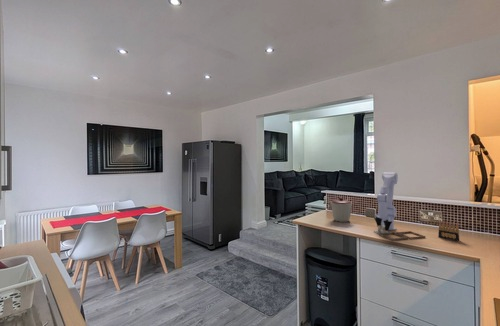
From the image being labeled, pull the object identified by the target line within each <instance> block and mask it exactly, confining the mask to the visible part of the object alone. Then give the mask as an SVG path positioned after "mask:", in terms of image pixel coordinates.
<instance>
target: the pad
mask: <svg viewBox="0 0 500 326" xmlns="http://www.w3.org/2000/svg"><path fill="white" fill-rule="evenodd" d="M373 233H375V234H378V235H379V234H382V233H380V232H378V230H376V231H375V230H374V231H373ZM388 233H392V232H391V231H388Z"/></svg>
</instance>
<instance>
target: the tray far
mask: <svg viewBox="0 0 500 326" xmlns="http://www.w3.org/2000/svg"><path fill="white" fill-rule="evenodd" d="M395 233H396V234H399V235H402V236H405V237H407V238H408V240H417V239H426V235H423V234H421V233H418V232H417V233H416V232H414V231H410V230H407V231H397V232H395ZM405 234H412V235H415V236H408V235H405Z"/></svg>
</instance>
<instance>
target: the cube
mask: <svg viewBox="0 0 500 326" xmlns="http://www.w3.org/2000/svg"><path fill="white" fill-rule="evenodd" d="M377 231H378V232H380V233H388V232H389V230H388V231H386V230H385V226H384V225H379V226H378V227H377Z"/></svg>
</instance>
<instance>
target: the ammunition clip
mask: <svg viewBox="0 0 500 326" xmlns="http://www.w3.org/2000/svg"><path fill="white" fill-rule="evenodd" d="M438 238H440V239H445V240H451V241H456V242H460V229H459V222H456V223H455V222H454V221H453V222H451V221H449V223H448V220H446V221H445V220H441V219H439V221H438Z"/></svg>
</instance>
